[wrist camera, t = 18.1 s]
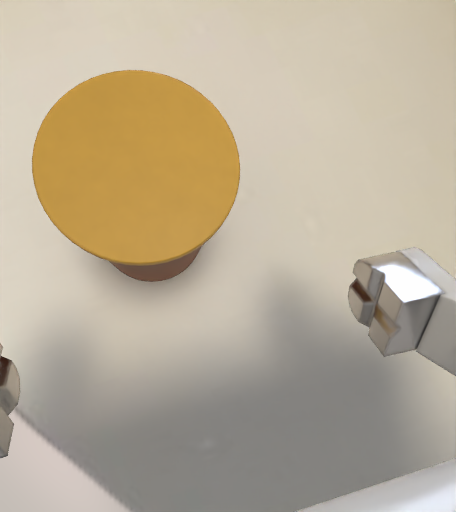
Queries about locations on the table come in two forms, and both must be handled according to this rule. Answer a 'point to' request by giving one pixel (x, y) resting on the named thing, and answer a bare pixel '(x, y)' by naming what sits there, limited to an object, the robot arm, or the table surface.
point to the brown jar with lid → (136, 171)
